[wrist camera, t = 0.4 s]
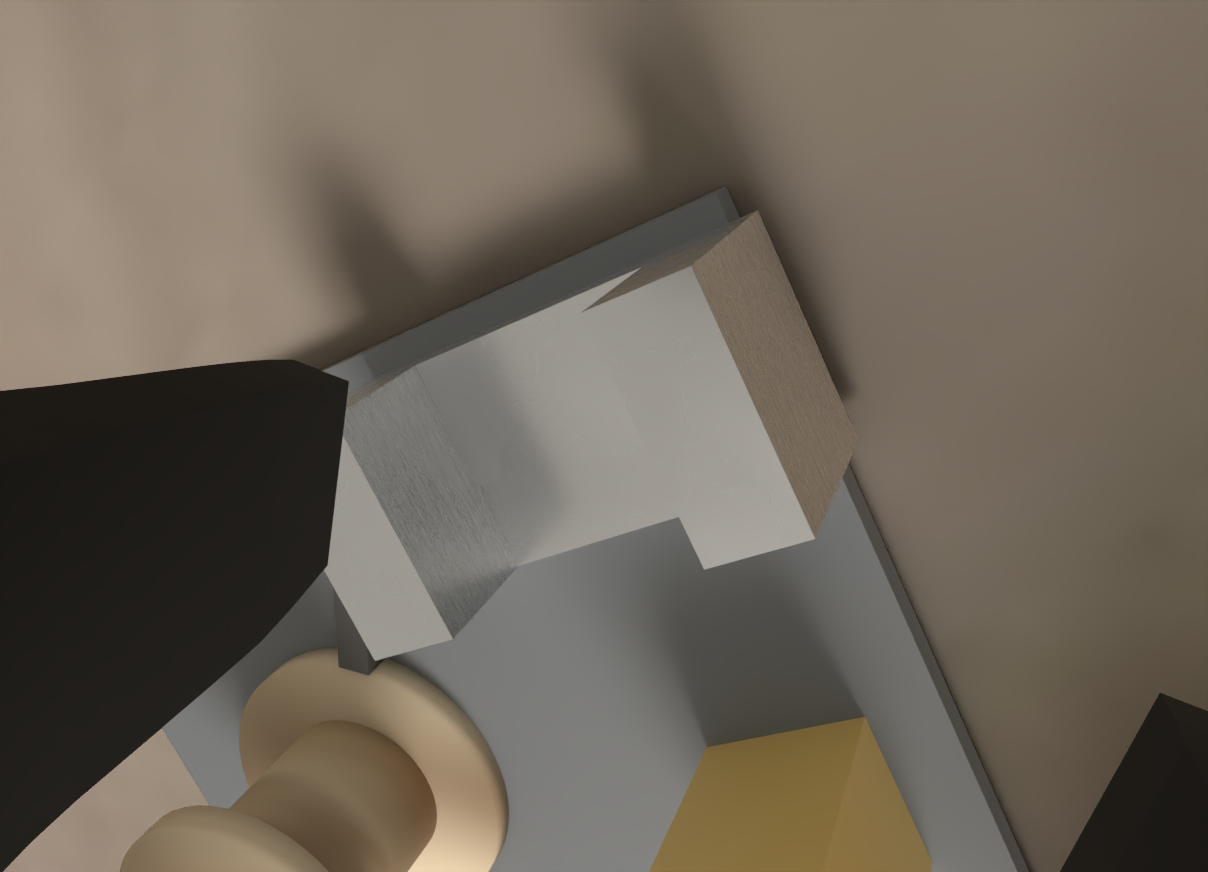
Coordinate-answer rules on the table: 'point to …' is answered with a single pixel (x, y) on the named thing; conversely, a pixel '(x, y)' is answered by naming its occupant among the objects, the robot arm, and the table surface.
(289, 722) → the bobbin
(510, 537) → the block
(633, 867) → the board
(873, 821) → the yellow block with knob
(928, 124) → the table surface
